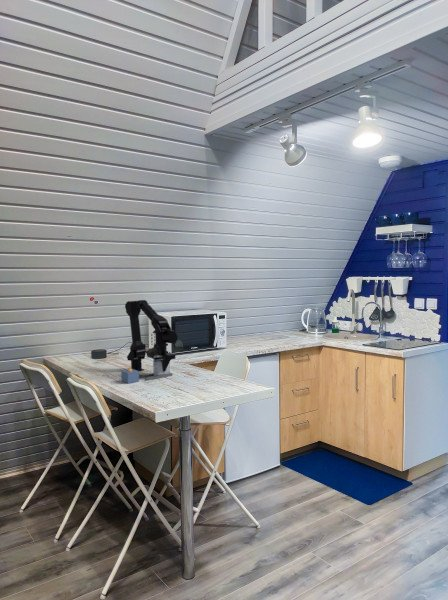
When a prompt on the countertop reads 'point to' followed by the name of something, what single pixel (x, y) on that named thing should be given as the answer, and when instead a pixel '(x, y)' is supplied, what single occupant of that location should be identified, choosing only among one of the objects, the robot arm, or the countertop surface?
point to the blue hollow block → (130, 376)
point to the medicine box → (159, 368)
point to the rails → (154, 376)
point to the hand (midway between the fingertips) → (161, 370)
